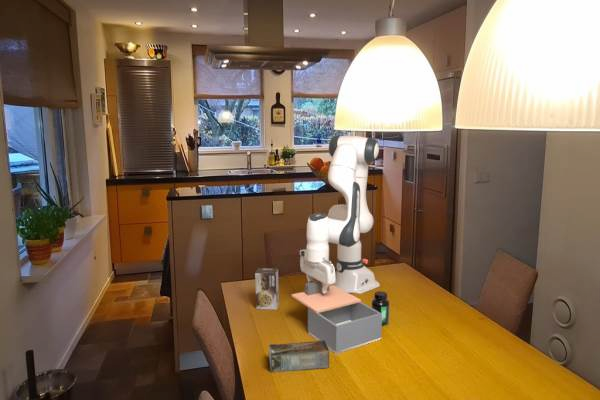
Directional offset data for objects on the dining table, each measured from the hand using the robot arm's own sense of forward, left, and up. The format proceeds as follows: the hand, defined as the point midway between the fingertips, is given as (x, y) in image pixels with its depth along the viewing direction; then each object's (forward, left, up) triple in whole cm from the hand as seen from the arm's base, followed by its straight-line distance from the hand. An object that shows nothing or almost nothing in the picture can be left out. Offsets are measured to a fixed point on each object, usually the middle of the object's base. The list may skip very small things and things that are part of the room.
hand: (317, 288), depth 176 cm
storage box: (0, +18, -12) cm, 22 cm away
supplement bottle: (-19, +16, -12) cm, 28 cm away
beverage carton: (+24, +26, -13) cm, 37 cm away
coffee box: (+12, -20, -12) cm, 26 cm away
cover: (0, +6, -2) cm, 6 cm away
